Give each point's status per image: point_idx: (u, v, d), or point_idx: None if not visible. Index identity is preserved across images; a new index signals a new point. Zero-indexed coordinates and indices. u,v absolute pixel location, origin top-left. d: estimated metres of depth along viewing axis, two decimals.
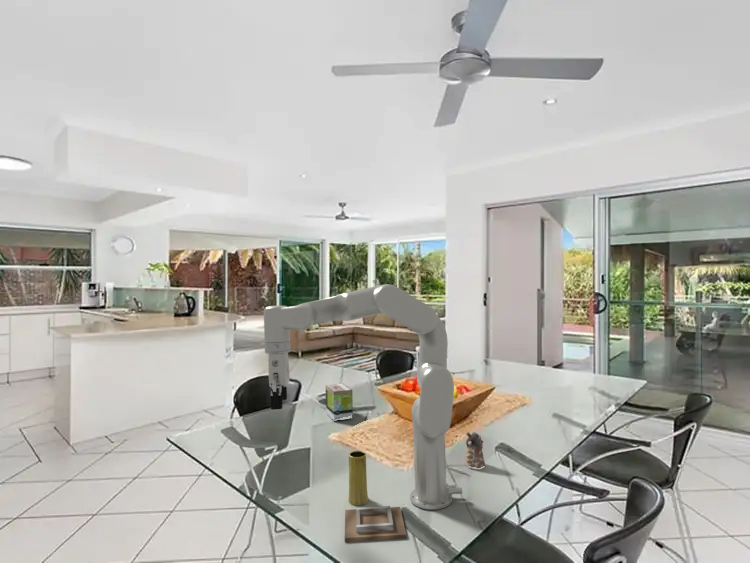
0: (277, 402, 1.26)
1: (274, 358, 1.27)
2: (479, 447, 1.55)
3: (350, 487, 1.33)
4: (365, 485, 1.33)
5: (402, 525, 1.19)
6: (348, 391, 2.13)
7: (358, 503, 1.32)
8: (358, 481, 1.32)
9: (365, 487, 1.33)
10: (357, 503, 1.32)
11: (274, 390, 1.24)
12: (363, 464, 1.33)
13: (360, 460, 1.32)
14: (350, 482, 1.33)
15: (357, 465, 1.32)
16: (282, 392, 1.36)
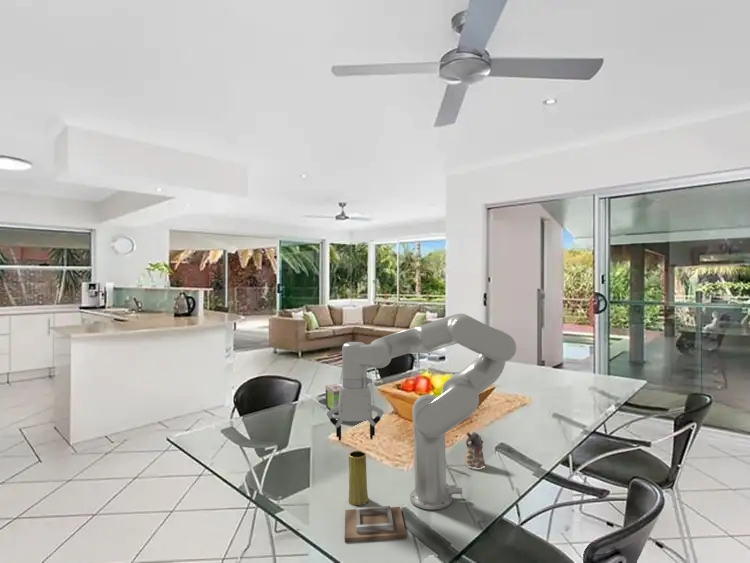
0: None
1: (369, 391, 1.35)
2: (479, 447, 1.55)
3: (350, 487, 1.33)
4: (365, 485, 1.33)
5: (402, 525, 1.19)
6: None
7: (358, 503, 1.32)
8: (358, 481, 1.32)
9: (365, 487, 1.33)
10: (357, 503, 1.32)
11: None
12: (363, 464, 1.33)
13: (360, 460, 1.32)
14: (350, 482, 1.33)
15: (357, 465, 1.32)
16: None
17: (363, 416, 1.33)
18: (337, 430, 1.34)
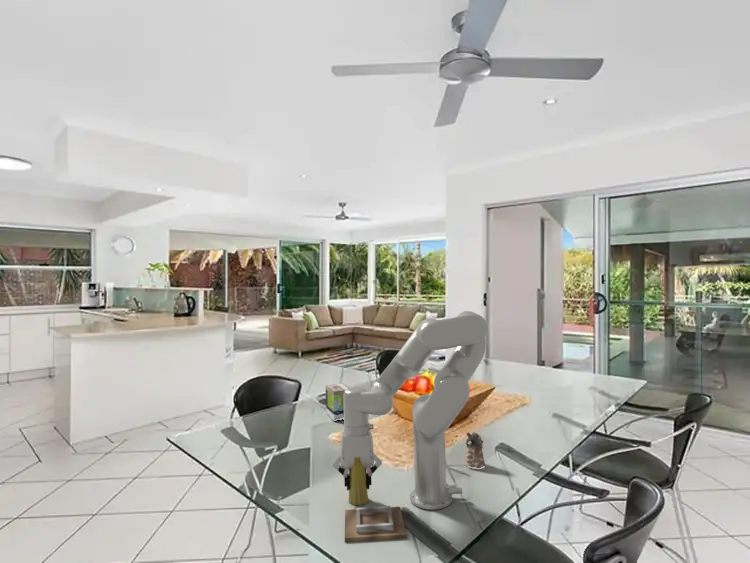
0: None
1: (371, 437, 1.35)
2: (479, 447, 1.55)
3: (350, 487, 1.33)
4: (365, 485, 1.33)
5: (402, 525, 1.19)
6: None
7: (358, 503, 1.32)
8: (358, 481, 1.32)
9: (365, 487, 1.33)
10: (357, 503, 1.32)
11: None
12: None
13: None
14: (350, 482, 1.33)
15: (357, 465, 1.32)
16: None
17: (365, 462, 1.33)
18: (345, 480, 1.34)
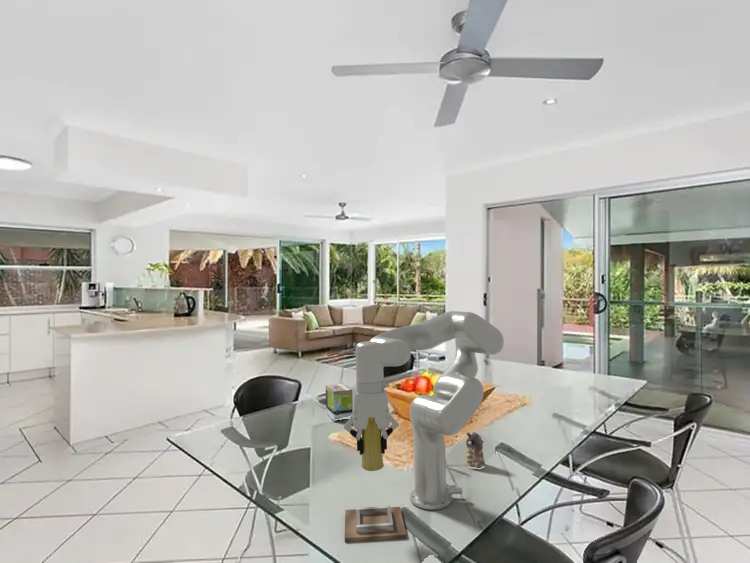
0: None
1: None
2: (479, 447, 1.55)
3: (363, 451, 1.20)
4: (380, 449, 1.19)
5: (402, 525, 1.19)
6: (348, 391, 2.13)
7: (372, 469, 1.18)
8: (372, 444, 1.18)
9: (380, 451, 1.19)
10: (371, 469, 1.18)
11: None
12: None
13: (374, 421, 1.19)
14: (363, 446, 1.19)
15: (371, 426, 1.18)
16: None
17: (380, 423, 1.19)
18: (358, 443, 1.20)
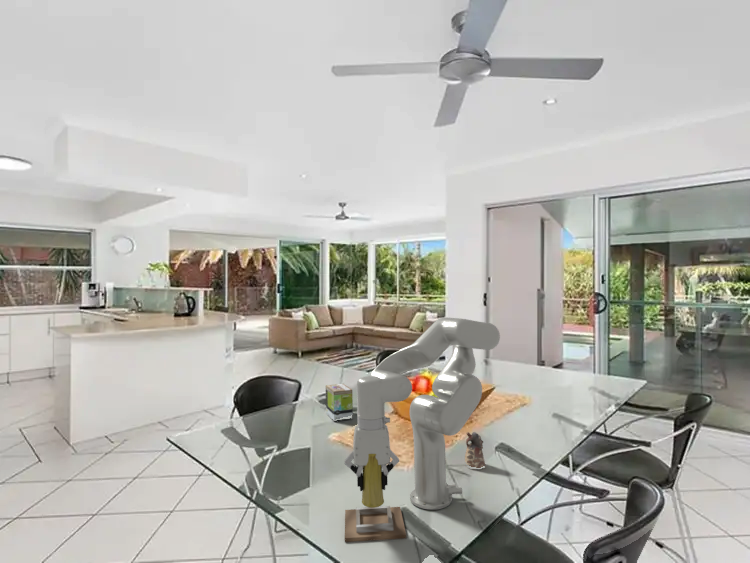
0: None
1: None
2: (479, 447, 1.55)
3: (364, 487, 1.19)
4: (380, 485, 1.19)
5: (402, 525, 1.19)
6: (348, 391, 2.13)
7: (373, 505, 1.18)
8: (373, 480, 1.18)
9: (380, 487, 1.19)
10: (372, 505, 1.18)
11: None
12: None
13: (375, 457, 1.19)
14: (364, 482, 1.19)
15: (372, 462, 1.18)
16: None
17: (381, 460, 1.19)
18: (358, 479, 1.20)
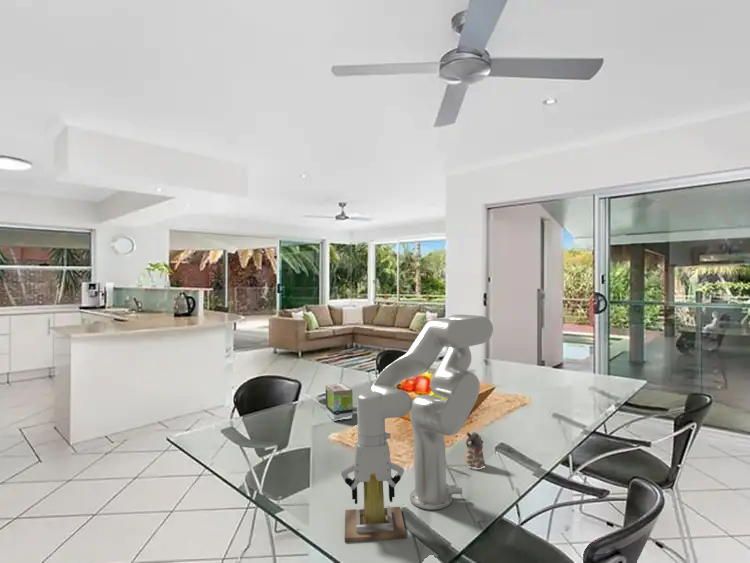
0: None
1: (388, 447, 1.21)
2: (479, 447, 1.55)
3: (365, 506, 1.20)
4: (382, 504, 1.20)
5: (402, 525, 1.19)
6: (348, 391, 2.13)
7: None
8: (374, 500, 1.19)
9: (382, 506, 1.20)
10: None
11: None
12: None
13: None
14: (365, 501, 1.20)
15: (373, 481, 1.19)
16: None
17: (382, 476, 1.19)
18: (353, 492, 1.20)
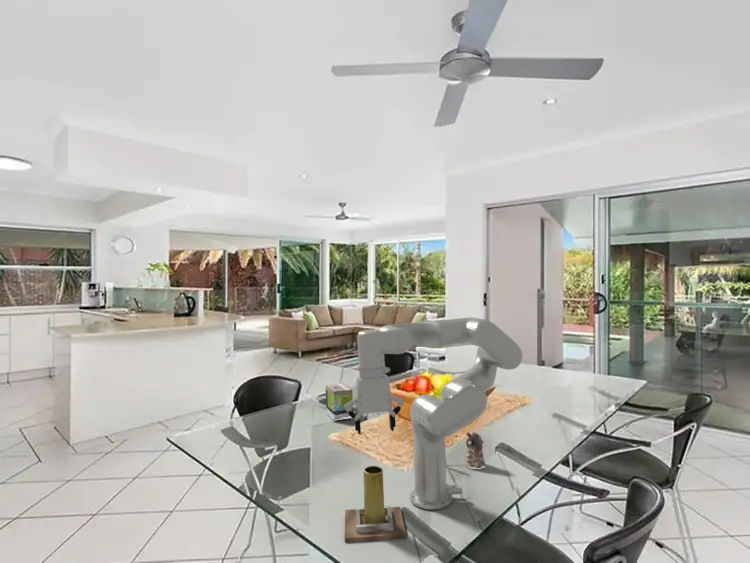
0: None
1: (388, 380, 1.28)
2: (479, 447, 1.55)
3: (366, 507, 1.20)
4: (382, 504, 1.20)
5: (402, 525, 1.19)
6: (348, 391, 2.13)
7: None
8: (375, 500, 1.18)
9: (382, 506, 1.20)
10: None
11: None
12: (380, 481, 1.19)
13: (377, 477, 1.19)
14: (366, 501, 1.20)
15: (373, 482, 1.19)
16: None
17: (383, 407, 1.26)
18: (356, 423, 1.26)
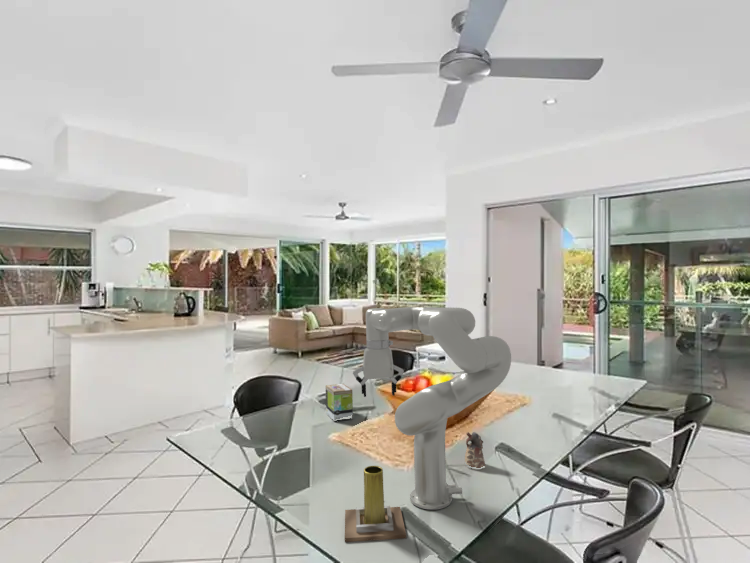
0: None
1: (391, 352, 1.49)
2: (479, 447, 1.55)
3: (366, 506, 1.20)
4: (382, 504, 1.20)
5: (402, 525, 1.19)
6: (348, 391, 2.13)
7: None
8: (375, 500, 1.19)
9: (382, 506, 1.20)
10: None
11: None
12: (380, 481, 1.19)
13: (377, 476, 1.19)
14: (366, 501, 1.20)
15: (373, 482, 1.19)
16: None
17: (386, 374, 1.47)
18: (362, 387, 1.48)
